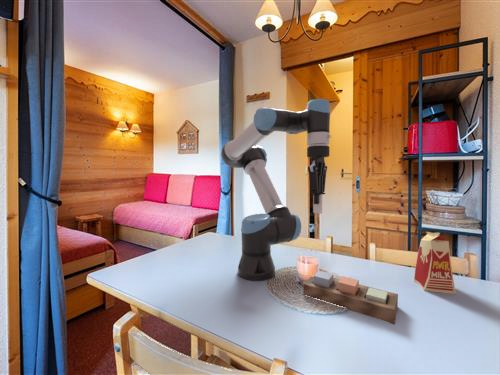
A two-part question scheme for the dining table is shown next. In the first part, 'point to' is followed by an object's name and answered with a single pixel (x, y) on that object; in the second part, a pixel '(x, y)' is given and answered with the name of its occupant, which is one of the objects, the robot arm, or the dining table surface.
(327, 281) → the slate button
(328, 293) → the button panel
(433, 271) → the milk carton
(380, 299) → the sage button
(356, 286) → the terracotta button
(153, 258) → the dining table surface
